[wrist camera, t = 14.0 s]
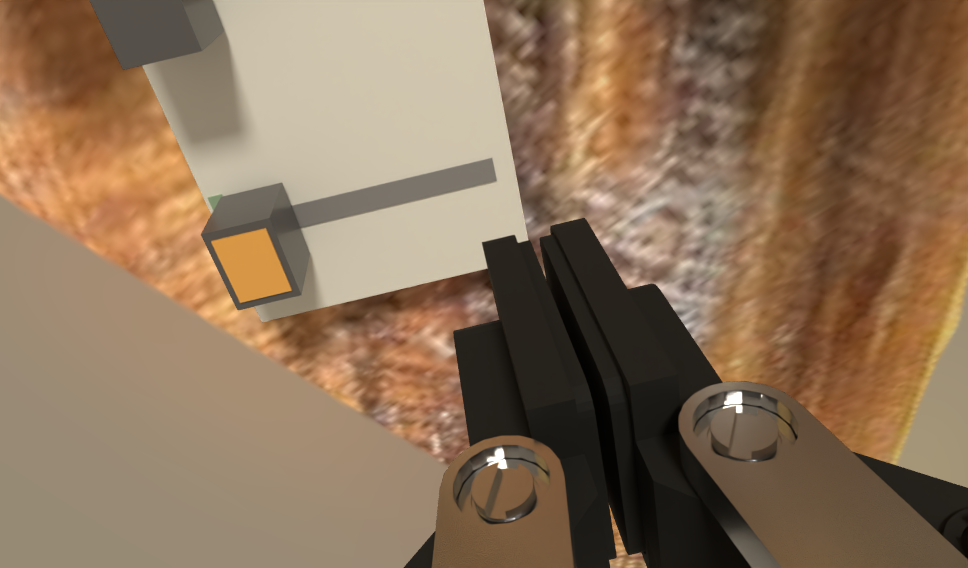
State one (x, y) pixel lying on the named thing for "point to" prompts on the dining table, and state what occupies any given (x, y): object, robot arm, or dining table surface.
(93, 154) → the dining table surface
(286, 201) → the block
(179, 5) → the breaker handle
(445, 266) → the panel
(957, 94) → the dining table surface
